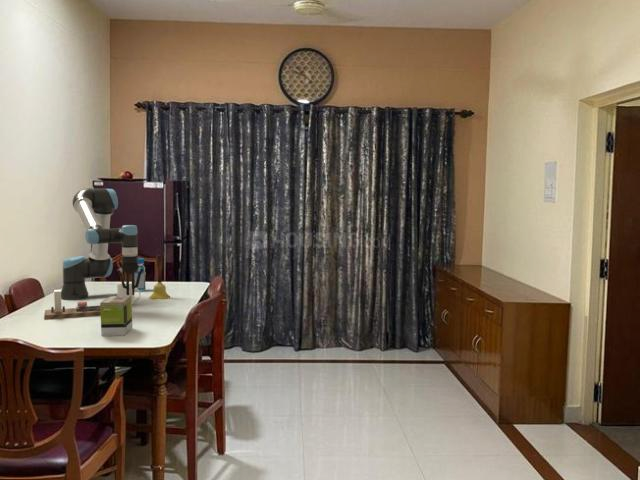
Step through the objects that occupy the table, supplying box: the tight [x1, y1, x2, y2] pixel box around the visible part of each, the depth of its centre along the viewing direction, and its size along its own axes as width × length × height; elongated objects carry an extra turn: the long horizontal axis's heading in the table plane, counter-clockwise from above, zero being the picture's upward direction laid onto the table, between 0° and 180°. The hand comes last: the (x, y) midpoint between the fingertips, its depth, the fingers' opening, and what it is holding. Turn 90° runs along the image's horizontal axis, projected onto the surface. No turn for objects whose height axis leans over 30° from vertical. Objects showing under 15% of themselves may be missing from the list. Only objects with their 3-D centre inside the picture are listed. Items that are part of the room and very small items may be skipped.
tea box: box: [99, 295, 133, 337], centre depth 259 cm, size 15×10×15 cm
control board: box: [43, 305, 101, 320], centre depth 297 cm, size 36×14×4 cm, turn 113°
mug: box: [116, 283, 141, 305], centre depth 324 cm, size 9×12×11 cm
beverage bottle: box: [134, 257, 147, 292], centre depth 370 cm, size 8×8×20 cm
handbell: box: [148, 254, 171, 300], centre depth 345 cm, size 12×12×25 cm
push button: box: [76, 301, 88, 307], centre depth 296 cm, size 4×4×2 cm
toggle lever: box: [53, 289, 62, 311], centre depth 290 cm, size 3×1×11 cm, turn 113°
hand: (130, 301), depth 305 cm, fingers closed
